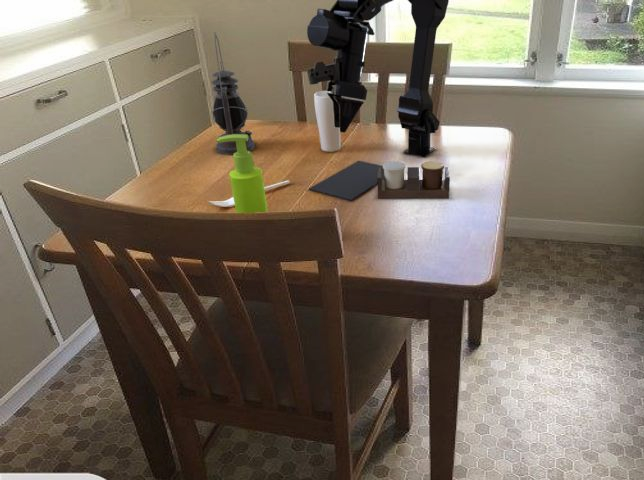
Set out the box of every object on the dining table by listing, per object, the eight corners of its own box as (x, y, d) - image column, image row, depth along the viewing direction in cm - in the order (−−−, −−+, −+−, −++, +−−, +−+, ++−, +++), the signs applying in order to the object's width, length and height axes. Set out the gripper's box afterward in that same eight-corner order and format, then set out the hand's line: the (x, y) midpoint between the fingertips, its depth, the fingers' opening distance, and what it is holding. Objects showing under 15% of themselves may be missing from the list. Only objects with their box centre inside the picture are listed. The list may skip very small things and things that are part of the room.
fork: (293, 185, 125) (292, 178, 124) (214, 212, 114) (213, 204, 113) (286, 181, 127) (285, 174, 126) (208, 207, 116) (206, 199, 115)
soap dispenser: (237, 228, 107) (219, 131, 97) (272, 226, 108) (258, 129, 97) (233, 242, 102) (213, 142, 92) (269, 240, 103) (254, 140, 92)
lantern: (254, 154, 143) (235, 35, 128) (213, 157, 142) (190, 37, 127) (256, 139, 154) (239, 27, 138) (218, 141, 153) (197, 29, 137)
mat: (358, 162, 137) (358, 160, 137) (398, 170, 131) (398, 169, 131) (308, 190, 123) (308, 188, 122) (351, 201, 117) (351, 199, 117)
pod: (427, 178, 122) (428, 159, 119) (447, 183, 119) (448, 163, 117) (416, 186, 118) (417, 166, 116) (436, 191, 116) (437, 170, 113)
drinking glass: (339, 154, 142) (335, 97, 134) (315, 153, 143) (310, 96, 135) (346, 145, 148) (342, 90, 140) (322, 144, 149) (318, 89, 141)
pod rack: (379, 187, 123) (378, 167, 120) (447, 187, 122) (448, 167, 120) (377, 198, 118) (377, 177, 115) (448, 198, 117) (449, 177, 114)
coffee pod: (390, 178, 122) (390, 159, 120) (409, 183, 120) (409, 163, 117) (378, 186, 119) (378, 166, 116) (398, 191, 116) (398, 171, 114)
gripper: (308, 48, 118) (299, 119, 123) (315, 45, 101) (305, 129, 105) (357, 57, 121) (347, 127, 125) (373, 56, 103) (360, 137, 108)
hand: (339, 129), depth 116 cm, fingers open, 9 cm apart
